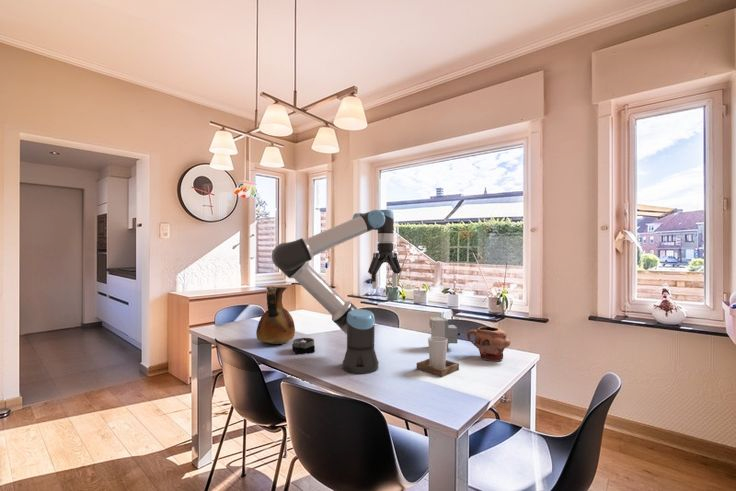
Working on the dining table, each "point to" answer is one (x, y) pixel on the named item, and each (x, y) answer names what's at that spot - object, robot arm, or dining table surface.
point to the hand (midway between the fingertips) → (385, 287)
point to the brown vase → (275, 319)
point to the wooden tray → (426, 367)
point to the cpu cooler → (303, 345)
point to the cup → (437, 351)
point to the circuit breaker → (443, 329)
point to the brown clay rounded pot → (490, 342)
